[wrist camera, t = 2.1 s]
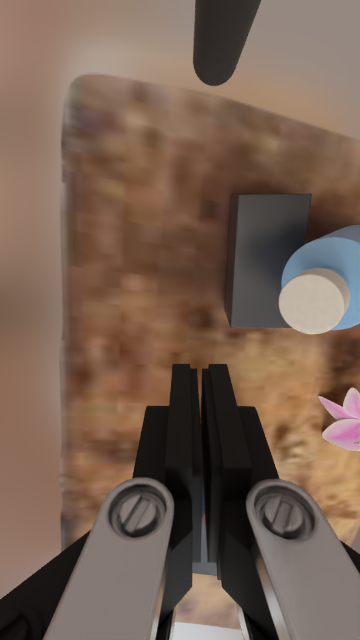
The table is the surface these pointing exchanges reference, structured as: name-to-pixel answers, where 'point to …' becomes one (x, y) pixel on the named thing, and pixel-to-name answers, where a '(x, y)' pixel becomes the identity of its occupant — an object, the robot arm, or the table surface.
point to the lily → (344, 421)
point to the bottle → (323, 283)
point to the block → (261, 255)
